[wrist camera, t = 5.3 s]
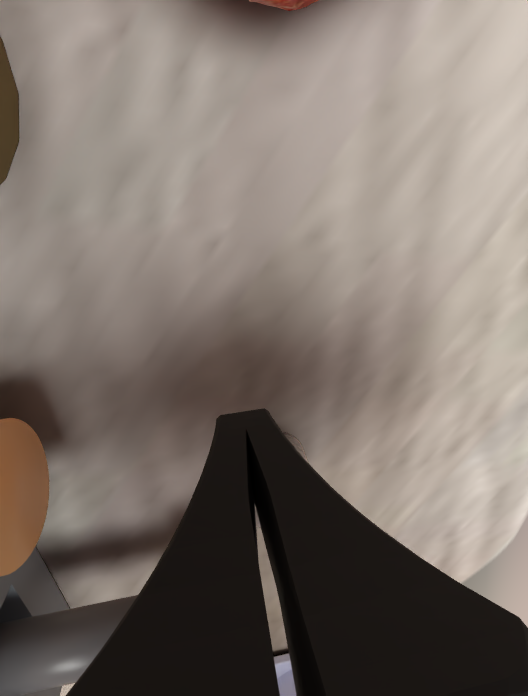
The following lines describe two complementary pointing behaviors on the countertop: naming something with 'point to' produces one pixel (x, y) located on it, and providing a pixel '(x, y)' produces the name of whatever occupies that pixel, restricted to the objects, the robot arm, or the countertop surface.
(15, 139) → the cork
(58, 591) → the mount
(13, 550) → the orange knob
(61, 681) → the cream knob
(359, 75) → the countertop surface
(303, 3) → the pomegranate
